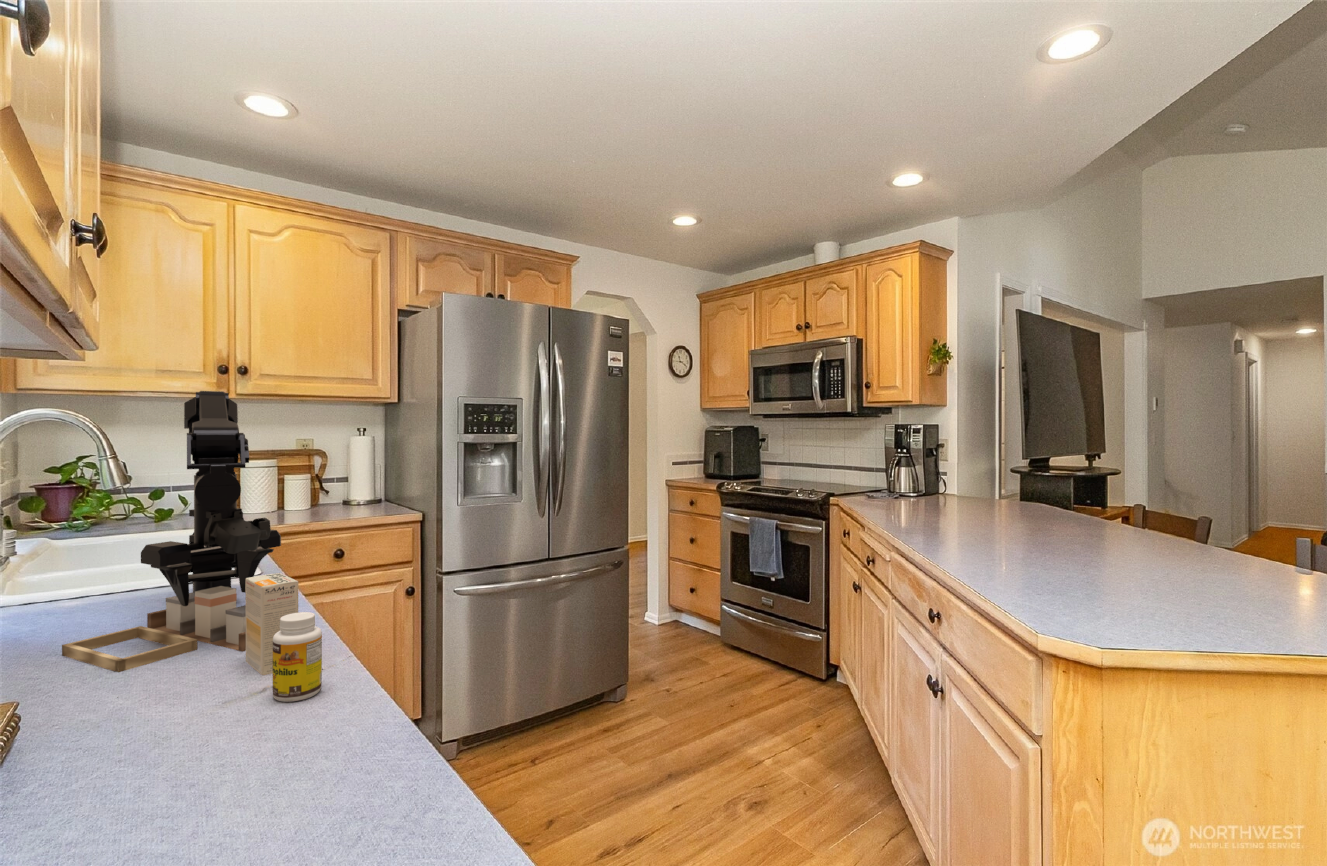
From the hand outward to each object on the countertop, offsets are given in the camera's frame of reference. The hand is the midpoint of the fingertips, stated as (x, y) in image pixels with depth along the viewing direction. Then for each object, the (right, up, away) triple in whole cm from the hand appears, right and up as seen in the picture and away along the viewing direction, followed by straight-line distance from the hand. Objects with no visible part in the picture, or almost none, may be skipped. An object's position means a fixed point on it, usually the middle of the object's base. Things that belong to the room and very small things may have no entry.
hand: (215, 598), depth 105 cm
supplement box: (+17, -7, -13) cm, 23 cm away
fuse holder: (0, -7, 0) cm, 7 cm away
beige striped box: (0, -6, 0) cm, 6 cm away
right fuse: (+7, -6, -3) cm, 10 cm away
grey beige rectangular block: (-7, -6, +3) cm, 10 cm away
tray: (-6, -7, -9) cm, 13 cm away
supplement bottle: (+25, -7, -21) cm, 34 cm away
